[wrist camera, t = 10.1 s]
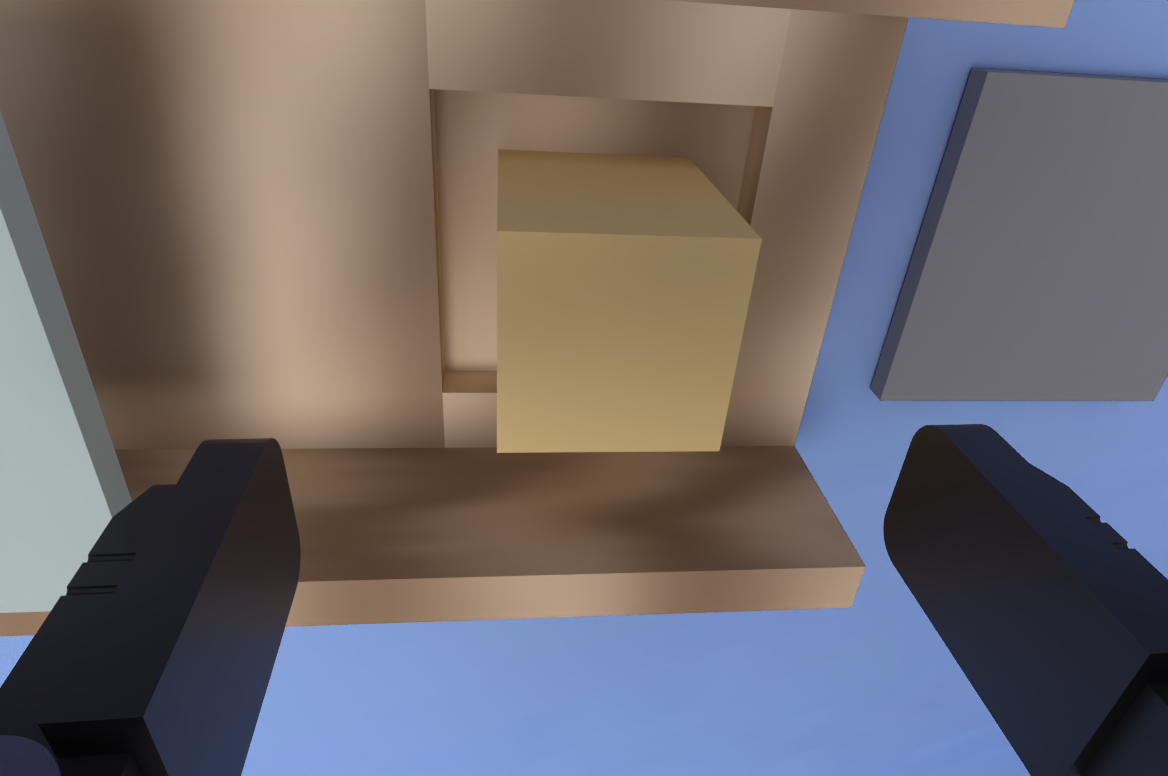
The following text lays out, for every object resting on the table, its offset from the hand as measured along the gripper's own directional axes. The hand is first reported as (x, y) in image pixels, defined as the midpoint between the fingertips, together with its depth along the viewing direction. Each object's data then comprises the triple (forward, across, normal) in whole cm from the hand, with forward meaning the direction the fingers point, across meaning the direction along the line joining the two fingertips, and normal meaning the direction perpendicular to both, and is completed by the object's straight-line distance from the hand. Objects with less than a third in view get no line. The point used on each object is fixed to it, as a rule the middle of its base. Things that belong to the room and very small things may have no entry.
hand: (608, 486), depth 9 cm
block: (+8, -1, 0) cm, 8 cm away
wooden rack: (+9, +3, 0) cm, 9 cm away
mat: (+8, -13, 0) cm, 15 cm away
